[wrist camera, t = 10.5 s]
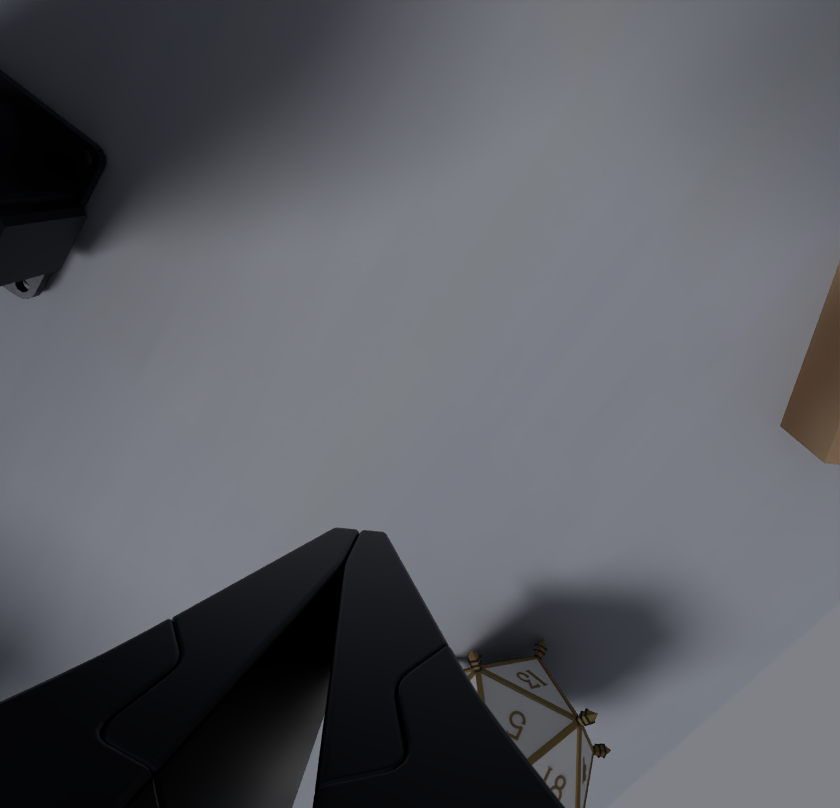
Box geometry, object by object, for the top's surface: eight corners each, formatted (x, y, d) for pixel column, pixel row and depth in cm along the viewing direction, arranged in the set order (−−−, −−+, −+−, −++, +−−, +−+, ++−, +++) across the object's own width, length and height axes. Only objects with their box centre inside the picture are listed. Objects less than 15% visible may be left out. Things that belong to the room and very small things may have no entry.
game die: (530, 611, 31) (693, 778, 23) (431, 732, 31) (565, 937, 23) (446, 569, 24) (634, 781, 17) (322, 721, 24) (459, 998, 17)
